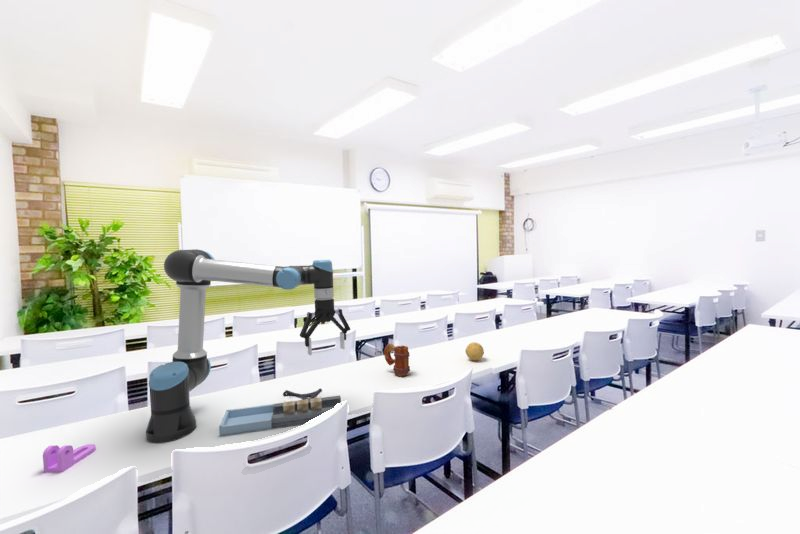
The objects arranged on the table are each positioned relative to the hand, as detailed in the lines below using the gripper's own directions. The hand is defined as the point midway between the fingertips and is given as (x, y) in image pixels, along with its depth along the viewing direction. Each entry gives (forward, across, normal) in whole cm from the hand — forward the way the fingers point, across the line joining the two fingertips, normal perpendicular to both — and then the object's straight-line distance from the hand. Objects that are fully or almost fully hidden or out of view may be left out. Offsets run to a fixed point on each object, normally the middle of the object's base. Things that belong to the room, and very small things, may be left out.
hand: (326, 351), depth 145 cm
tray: (+22, -30, +4) cm, 38 cm away
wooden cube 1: (+21, -16, 0) cm, 27 cm away
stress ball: (+24, +90, +13) cm, 94 cm away
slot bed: (+23, -9, -2) cm, 25 cm away
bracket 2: (+24, -7, +18) cm, 30 cm away
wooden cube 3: (+21, -6, -3) cm, 22 cm away
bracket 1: (+22, -80, +9) cm, 83 cm away
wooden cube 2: (+21, -11, -2) cm, 24 cm away
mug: (+24, +43, +18) cm, 52 cm away
